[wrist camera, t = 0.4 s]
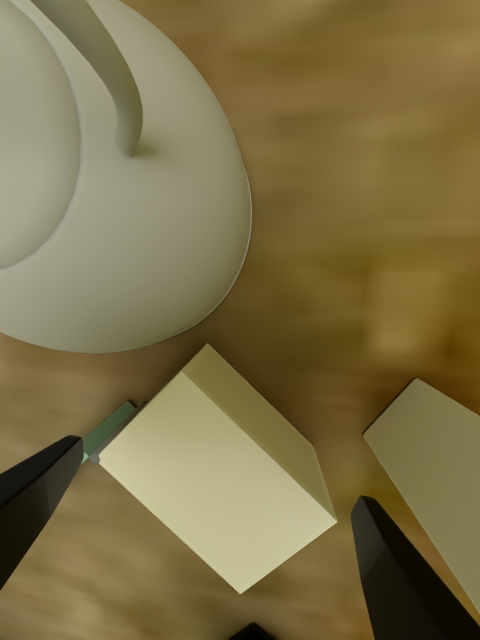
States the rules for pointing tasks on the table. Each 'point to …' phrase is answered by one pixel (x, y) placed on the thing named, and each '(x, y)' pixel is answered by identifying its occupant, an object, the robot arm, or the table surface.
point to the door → (106, 429)
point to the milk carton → (436, 472)
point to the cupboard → (222, 471)
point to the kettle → (111, 181)
